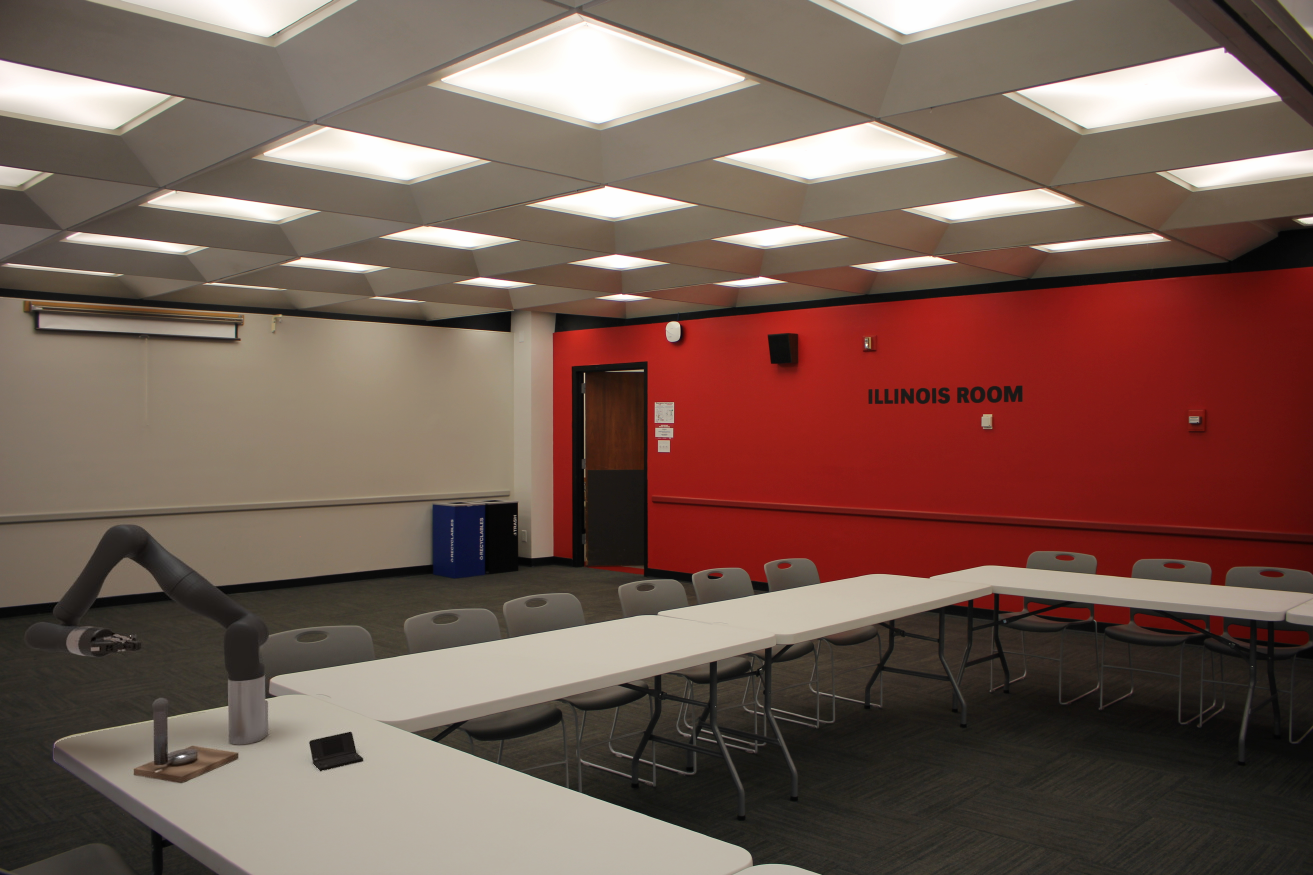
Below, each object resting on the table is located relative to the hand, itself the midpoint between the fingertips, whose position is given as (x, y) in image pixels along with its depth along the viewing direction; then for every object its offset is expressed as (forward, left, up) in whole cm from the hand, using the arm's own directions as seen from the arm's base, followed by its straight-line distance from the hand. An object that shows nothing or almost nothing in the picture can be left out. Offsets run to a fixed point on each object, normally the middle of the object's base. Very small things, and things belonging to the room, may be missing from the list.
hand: (138, 646), depth 222 cm
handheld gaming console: (-18, +47, -30) cm, 59 cm away
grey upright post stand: (0, +13, -28) cm, 31 cm away
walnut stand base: (-3, +14, -30) cm, 33 cm away
